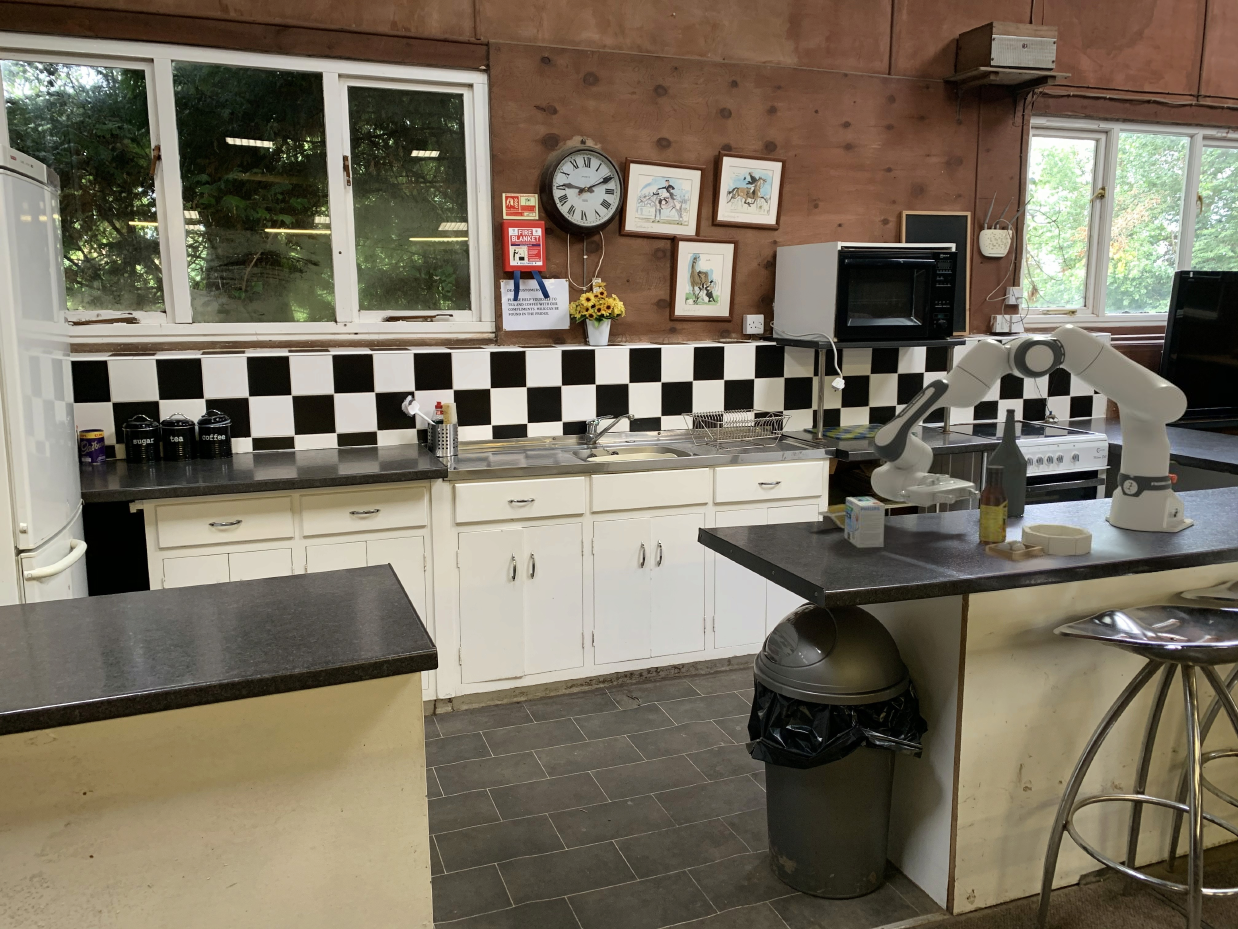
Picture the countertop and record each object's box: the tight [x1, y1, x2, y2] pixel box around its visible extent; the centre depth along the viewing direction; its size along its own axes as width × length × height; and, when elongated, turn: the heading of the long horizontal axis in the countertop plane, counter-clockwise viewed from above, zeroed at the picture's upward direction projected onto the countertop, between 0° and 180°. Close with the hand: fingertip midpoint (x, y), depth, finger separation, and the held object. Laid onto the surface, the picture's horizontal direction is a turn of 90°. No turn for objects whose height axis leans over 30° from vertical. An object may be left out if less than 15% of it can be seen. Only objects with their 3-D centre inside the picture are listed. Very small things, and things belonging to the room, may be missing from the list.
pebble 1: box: [997, 542, 1010, 551], centre depth 218 cm, size 3×3×3 cm
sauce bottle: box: [978, 465, 1008, 547], centre depth 228 cm, size 6×6×20 cm
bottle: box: [987, 408, 1028, 519], centre depth 263 cm, size 10×10×30 cm
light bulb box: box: [844, 496, 886, 549], centre depth 234 cm, size 11×7×11 cm, turn 5°
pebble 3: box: [1012, 543, 1026, 552], centre depth 217 cm, size 3×3×3 cm
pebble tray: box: [985, 539, 1044, 563], centre depth 218 cm, size 10×8×3 cm
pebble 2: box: [1010, 539, 1023, 550], centre depth 220 cm, size 3×3×3 cm
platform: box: [817, 503, 846, 530], centre depth 250 cm, size 12×18×7 cm, turn 119°
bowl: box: [1020, 523, 1093, 556], centre depth 224 cm, size 14×14×5 cm
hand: (965, 497), depth 235 cm, fingers open, 8 cm apart
